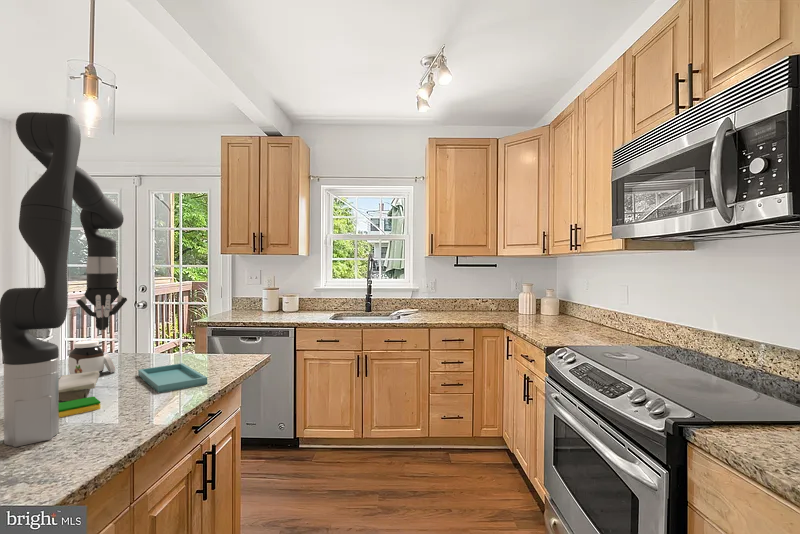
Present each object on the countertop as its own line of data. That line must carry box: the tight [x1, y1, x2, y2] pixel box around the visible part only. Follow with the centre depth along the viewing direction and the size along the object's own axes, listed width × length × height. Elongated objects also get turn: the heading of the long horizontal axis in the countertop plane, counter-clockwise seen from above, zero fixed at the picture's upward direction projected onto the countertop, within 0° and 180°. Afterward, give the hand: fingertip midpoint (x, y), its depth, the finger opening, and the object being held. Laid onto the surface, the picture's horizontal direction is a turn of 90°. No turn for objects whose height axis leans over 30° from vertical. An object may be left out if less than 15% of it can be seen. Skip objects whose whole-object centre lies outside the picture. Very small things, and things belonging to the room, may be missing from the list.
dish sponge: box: [59, 396, 101, 418], centre depth 110 cm, size 7×14×2 cm, turn 137°
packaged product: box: [59, 371, 101, 402], centre depth 124 cm, size 18×5×10 cm
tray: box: [137, 362, 208, 394], centre depth 141 cm, size 26×14×2 cm, turn 43°
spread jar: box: [67, 340, 116, 375], centre depth 147 cm, size 12×11×12 cm
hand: (102, 329), depth 127 cm, fingers closed
